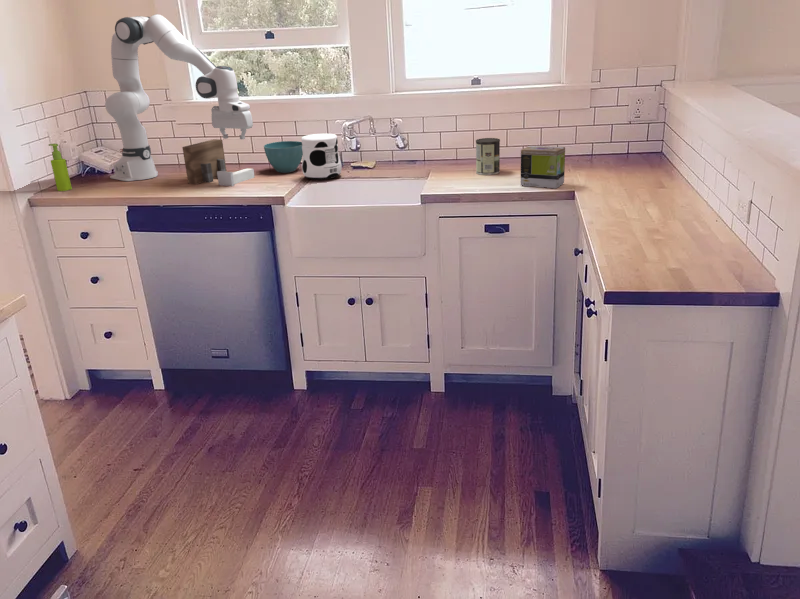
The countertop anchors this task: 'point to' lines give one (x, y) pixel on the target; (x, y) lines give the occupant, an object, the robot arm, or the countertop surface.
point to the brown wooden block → (204, 161)
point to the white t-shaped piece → (234, 176)
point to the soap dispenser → (60, 170)
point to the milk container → (320, 156)
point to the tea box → (542, 166)
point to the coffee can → (488, 156)
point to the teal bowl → (284, 155)
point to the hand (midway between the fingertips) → (234, 138)
